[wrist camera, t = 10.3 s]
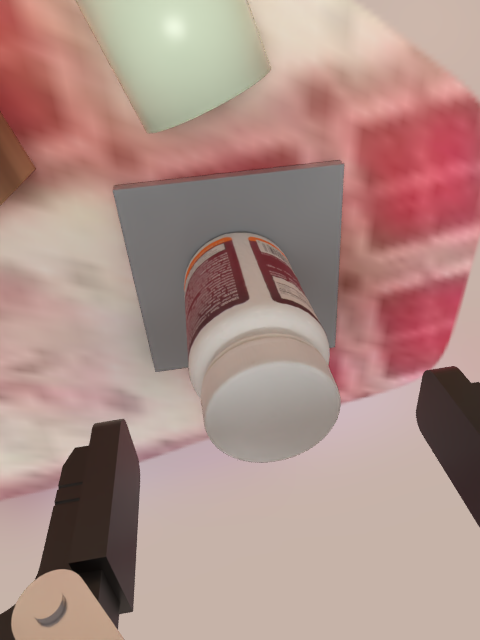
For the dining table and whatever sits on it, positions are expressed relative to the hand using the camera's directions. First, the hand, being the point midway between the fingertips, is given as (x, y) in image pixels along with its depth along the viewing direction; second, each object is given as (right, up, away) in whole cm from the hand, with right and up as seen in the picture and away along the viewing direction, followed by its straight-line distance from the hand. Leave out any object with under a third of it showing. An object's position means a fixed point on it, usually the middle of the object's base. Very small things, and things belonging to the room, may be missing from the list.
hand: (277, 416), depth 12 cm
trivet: (-1, +5, +8) cm, 10 cm away
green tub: (-2, +10, +2) cm, 10 cm away
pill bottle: (-1, +4, +8) cm, 9 cm away
